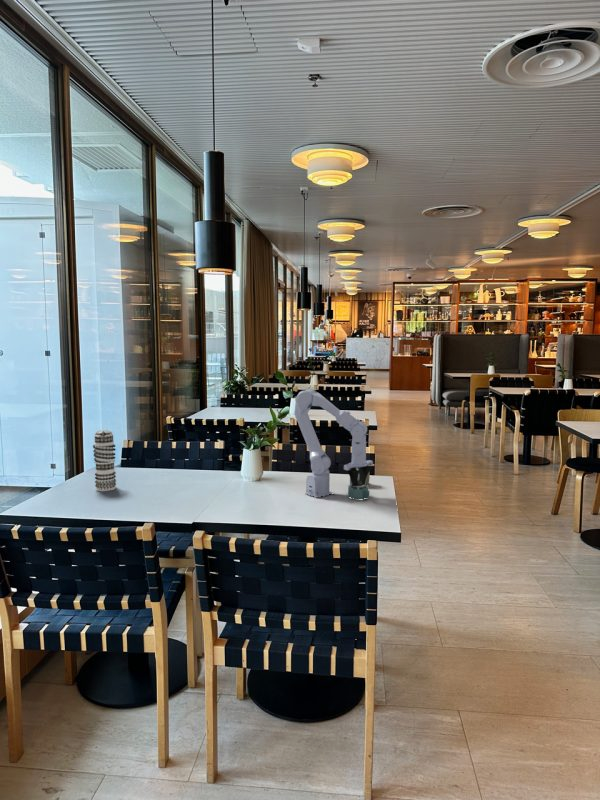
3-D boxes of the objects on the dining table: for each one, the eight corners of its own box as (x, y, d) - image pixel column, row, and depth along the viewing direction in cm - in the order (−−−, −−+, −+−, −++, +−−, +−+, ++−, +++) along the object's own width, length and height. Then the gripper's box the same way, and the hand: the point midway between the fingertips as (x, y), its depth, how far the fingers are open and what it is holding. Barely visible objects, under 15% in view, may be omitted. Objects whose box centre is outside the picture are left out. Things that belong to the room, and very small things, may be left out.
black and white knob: (358, 498, 223) (358, 482, 222) (348, 495, 227) (348, 480, 227) (367, 495, 226) (368, 480, 226) (358, 492, 231) (358, 478, 230)
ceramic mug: (368, 488, 241) (368, 470, 240) (349, 487, 242) (349, 469, 242) (370, 482, 251) (370, 466, 250) (352, 481, 253) (352, 465, 252)
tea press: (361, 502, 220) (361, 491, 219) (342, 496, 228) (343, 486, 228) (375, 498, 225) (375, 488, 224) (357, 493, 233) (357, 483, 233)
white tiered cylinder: (102, 492, 233) (100, 433, 230) (90, 489, 238) (87, 431, 236) (121, 488, 240) (119, 430, 237) (108, 484, 246) (106, 428, 243)
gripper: (352, 456, 217) (352, 490, 219) (378, 451, 226) (377, 484, 228) (340, 453, 223) (340, 486, 224) (366, 448, 232) (365, 480, 233)
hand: (358, 485), depth 226 cm, fingers open, 4 cm apart
